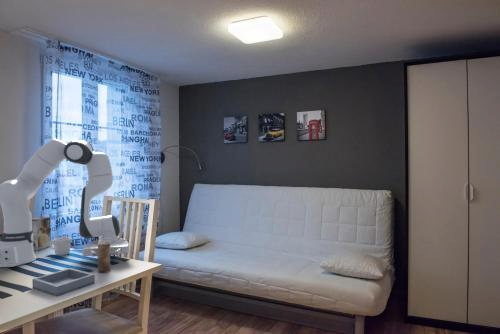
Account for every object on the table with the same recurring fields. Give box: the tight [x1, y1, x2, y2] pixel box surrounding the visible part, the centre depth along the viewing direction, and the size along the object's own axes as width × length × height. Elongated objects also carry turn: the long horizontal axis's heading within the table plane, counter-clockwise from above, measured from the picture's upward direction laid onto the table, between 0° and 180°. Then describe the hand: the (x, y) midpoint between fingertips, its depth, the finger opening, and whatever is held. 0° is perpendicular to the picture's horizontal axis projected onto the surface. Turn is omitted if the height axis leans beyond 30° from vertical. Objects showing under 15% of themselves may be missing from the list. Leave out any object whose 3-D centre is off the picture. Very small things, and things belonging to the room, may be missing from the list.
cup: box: [49, 236, 72, 256], centre depth 177 cm, size 11×8×8 cm
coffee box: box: [32, 216, 52, 251], centre depth 189 cm, size 9×6×16 cm
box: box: [31, 267, 96, 297], centre depth 135 cm, size 15×15×4 cm
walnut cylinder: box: [97, 242, 111, 274], centre depth 152 cm, size 5×5×12 cm
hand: (105, 253), depth 156 cm, fingers open, 8 cm apart
